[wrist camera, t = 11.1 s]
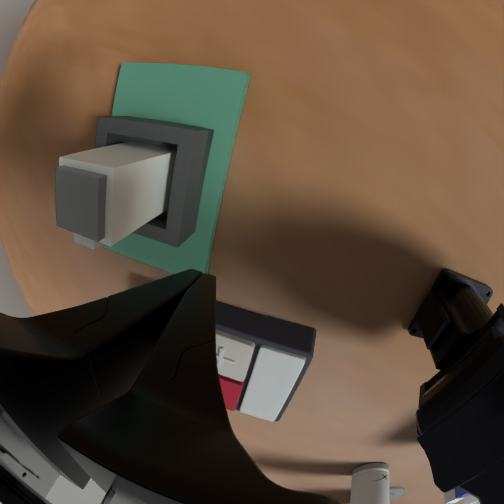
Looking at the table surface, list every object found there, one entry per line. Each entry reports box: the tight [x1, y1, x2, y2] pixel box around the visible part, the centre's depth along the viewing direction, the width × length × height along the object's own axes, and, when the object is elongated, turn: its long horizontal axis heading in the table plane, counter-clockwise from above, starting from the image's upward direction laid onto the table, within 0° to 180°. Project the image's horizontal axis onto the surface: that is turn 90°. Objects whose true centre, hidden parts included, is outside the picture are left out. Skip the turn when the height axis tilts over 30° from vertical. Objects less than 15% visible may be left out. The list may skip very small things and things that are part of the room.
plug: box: [55, 142, 177, 250], centre depth 15 cm, size 4×5×8 cm
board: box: [95, 63, 251, 274], centre depth 19 cm, size 10×16×4 cm, turn 166°
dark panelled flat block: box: [216, 301, 316, 421], centre depth 25 cm, size 11×4×15 cm
